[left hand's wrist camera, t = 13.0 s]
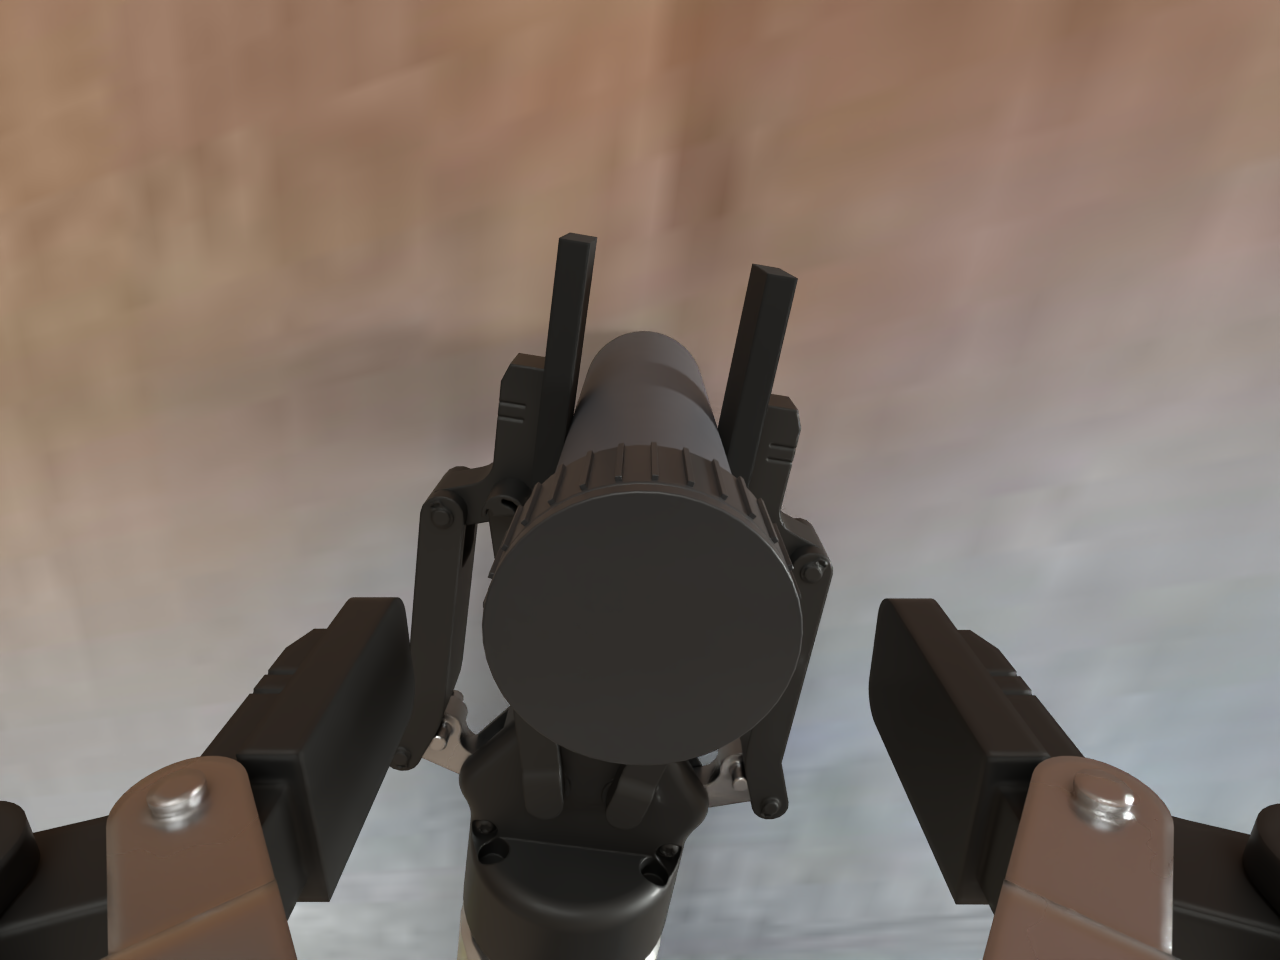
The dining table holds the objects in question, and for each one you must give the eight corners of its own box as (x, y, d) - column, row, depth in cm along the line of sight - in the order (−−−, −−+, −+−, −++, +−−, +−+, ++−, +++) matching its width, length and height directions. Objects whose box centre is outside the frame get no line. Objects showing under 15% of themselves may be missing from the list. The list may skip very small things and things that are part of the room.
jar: (702, 443, 28) (768, 726, 13) (588, 447, 28) (525, 731, 13) (702, 328, 26) (775, 502, 11) (581, 333, 26) (500, 510, 12)
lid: (778, 685, 15) (800, 766, 13) (516, 692, 15) (495, 773, 13) (788, 434, 13) (816, 481, 11) (487, 444, 13) (457, 492, 11)
